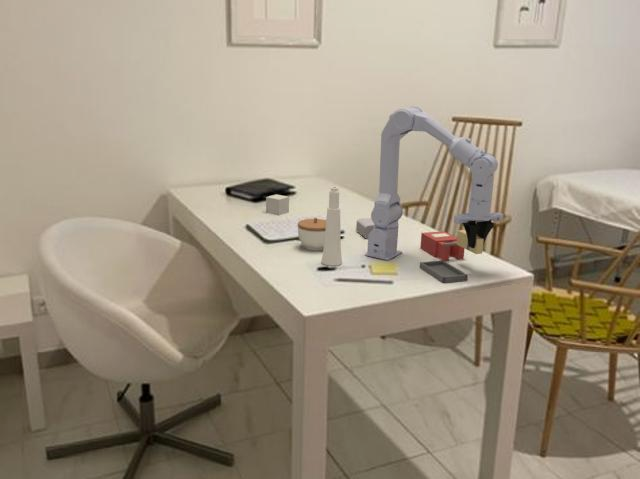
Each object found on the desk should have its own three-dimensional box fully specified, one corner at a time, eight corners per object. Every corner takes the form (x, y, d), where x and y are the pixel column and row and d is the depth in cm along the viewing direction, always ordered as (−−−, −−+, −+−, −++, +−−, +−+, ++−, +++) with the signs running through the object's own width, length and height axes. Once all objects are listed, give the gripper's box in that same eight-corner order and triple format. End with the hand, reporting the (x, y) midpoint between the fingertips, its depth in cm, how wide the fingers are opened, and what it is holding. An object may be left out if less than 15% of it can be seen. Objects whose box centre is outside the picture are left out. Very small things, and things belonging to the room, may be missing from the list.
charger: (375, 226, 228) (391, 238, 215) (350, 227, 226) (365, 239, 212) (375, 213, 227) (392, 224, 213) (350, 214, 224) (365, 225, 211)
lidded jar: (338, 246, 203) (339, 217, 201) (320, 255, 195) (321, 224, 192) (309, 240, 209) (309, 211, 206) (290, 248, 200) (291, 218, 197)
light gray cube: (288, 212, 242) (289, 196, 241) (278, 215, 238) (279, 199, 236) (276, 209, 246) (276, 194, 244) (265, 212, 241) (266, 196, 239)
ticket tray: (467, 280, 177) (467, 274, 176) (442, 283, 174) (443, 277, 174) (442, 265, 189) (443, 260, 188) (419, 267, 186) (419, 262, 186)
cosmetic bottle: (346, 262, 188) (349, 187, 182) (332, 267, 184) (335, 190, 178) (330, 257, 192) (333, 184, 186) (316, 262, 188) (319, 187, 181)
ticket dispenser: (465, 258, 195) (466, 242, 194) (441, 261, 192) (443, 244, 191) (442, 246, 207) (444, 230, 205) (420, 248, 204) (421, 232, 202)
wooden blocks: (482, 253, 181) (483, 238, 180) (475, 254, 180) (477, 239, 179) (462, 244, 190) (463, 229, 189) (456, 244, 189) (457, 230, 188)
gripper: (465, 203, 172) (460, 253, 176) (511, 201, 177) (506, 249, 181) (451, 197, 179) (447, 245, 183) (496, 195, 184) (491, 241, 187)
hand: (475, 246), depth 182 cm, fingers closed on wooden blocks, 2 cm apart
